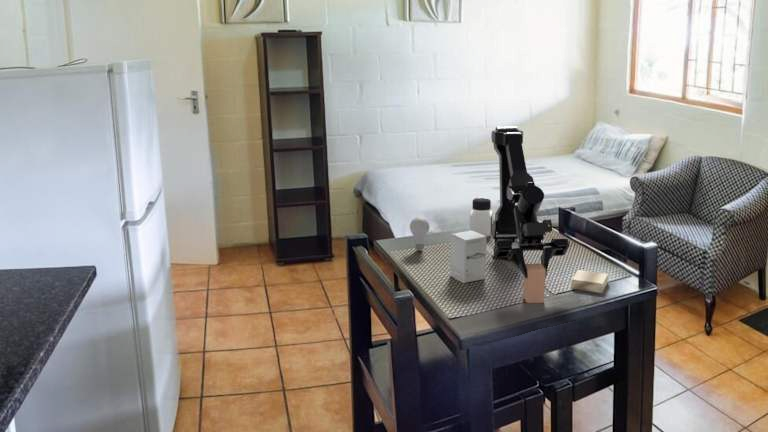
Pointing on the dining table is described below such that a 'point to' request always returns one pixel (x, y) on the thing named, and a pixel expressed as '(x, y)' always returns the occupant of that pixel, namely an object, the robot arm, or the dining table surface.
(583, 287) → the beech block
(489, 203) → the medicine bottle
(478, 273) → the supplement box
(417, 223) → the lightbulb
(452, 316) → the dining table surface
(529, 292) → the terracotta pillar
